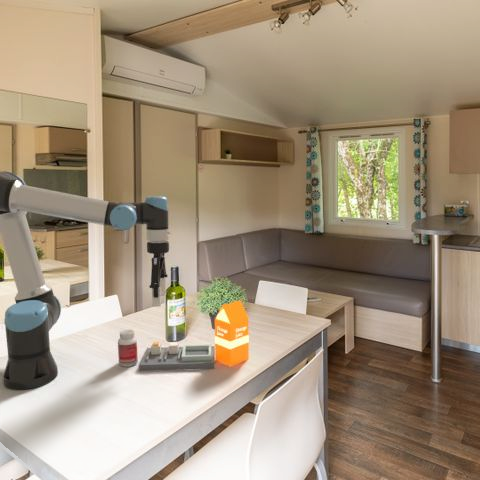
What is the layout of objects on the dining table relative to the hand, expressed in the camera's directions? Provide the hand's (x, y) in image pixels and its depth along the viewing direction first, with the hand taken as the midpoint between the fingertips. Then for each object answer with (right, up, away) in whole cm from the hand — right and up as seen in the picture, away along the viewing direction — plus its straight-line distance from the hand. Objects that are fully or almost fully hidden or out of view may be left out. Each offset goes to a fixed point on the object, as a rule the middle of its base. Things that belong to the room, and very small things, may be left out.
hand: (159, 300), depth 150 cm
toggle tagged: (0, -17, -4) cm, 18 cm away
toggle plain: (+6, -17, -4) cm, 18 cm away
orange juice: (+26, -20, -4) cm, 33 cm away
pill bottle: (-9, -20, -7) cm, 23 cm away
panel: (+8, -20, -5) cm, 22 cm away
